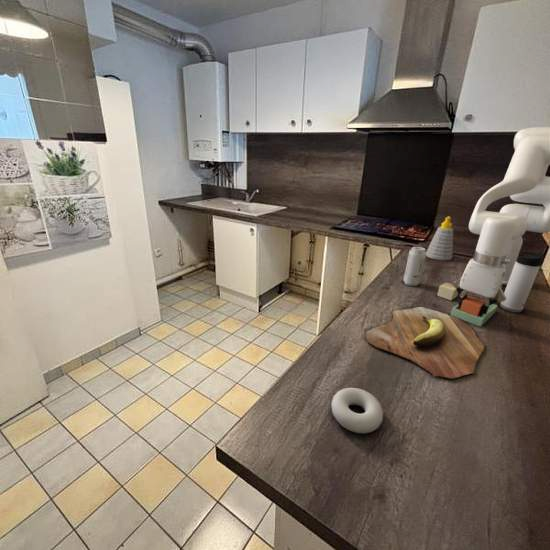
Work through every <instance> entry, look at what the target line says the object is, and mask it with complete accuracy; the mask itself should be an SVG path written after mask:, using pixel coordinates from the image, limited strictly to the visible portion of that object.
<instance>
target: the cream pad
mask: <svg viewBox="0 0 550 550" xmlns="http://www.w3.org/2000/svg"><path fill="white" fill-rule="evenodd" d="M458 295H459V293H458V292H457V290H456V288H455V287H454V286H453V285H452V283H450V282H444V283H442V284H440V285H439V287H438V291H437V294H436V296H437V297H440V298H443V299H447V300H449V301H452V300H454V299H455V298H457V297H458Z"/></svg>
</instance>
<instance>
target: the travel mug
mask: <svg viewBox="0 0 550 550" xmlns="http://www.w3.org/2000/svg"><path fill="white" fill-rule="evenodd" d="M545 257H546V256H545V254H543V253H536V252H519V254H518V257H517V260H516V262H515V265H514V267H513V270H512V273H511V276H510V278H509V281H508V284H507V285H506V287H505V290H504V291H503V293H504V294H505V296H506V298H507V299H506V300H505V301H502V302H499V306H500V308H501V309H503V310H505V311H508V312H511V313H522V311H523V310H524V307H525V305H526V302H527V300H528V297H529V295H530V293H531V290H532V287H533V285H534V284H535V283H534V282H535V280H536V278H537V275H538V273H539V270H540V267H541V265H542V262H543V260H544V258H545Z"/></svg>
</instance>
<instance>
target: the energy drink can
mask: <svg viewBox="0 0 550 550" xmlns="http://www.w3.org/2000/svg"><path fill="white" fill-rule="evenodd" d="M426 251H427V249H426V248H424V247H422V246H412V247H411V249H410V250H409V252H408V256H407V261H406V267H405V271H404V275H403V283H404V284H405V285H407V286H410V287H416V286H418V285H419V284H420V282H421V278H422V275H423V269H424V266H425V262H426V257H427V256H426Z"/></svg>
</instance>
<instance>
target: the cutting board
mask: <svg viewBox="0 0 550 550" xmlns="http://www.w3.org/2000/svg"><path fill="white" fill-rule="evenodd" d="M392 317H393V318H392V319H391V320H389V321H387V322H385V323H383V324H380V325H378V326H375V327H371V328H369V329H367V330H366V332H365V339H366V341H367V342H368V343H369V344H371V345H372V346H374V347H376V348H377V349H382V350H384V351H387V352H390V353H393V354H395V355H398V356H400V357H402V358H404V359H407V360H410V361H411V362H413V363H415V364H416V365H418V366H419V367H421V368H422V369H424V370H426V371H428V372H429V373H430V374H431V375H432V376H433V377H442V378H447V379H452V380H453V379H456V378H460V377H462V376H463V377H464V376H466V375H470V374H475V368H476V364H477V362H478V360H479V358H480V356H481V355H482V354H483V352H484V349H485V344H484V343H483V342H482V340H480V338H479V337H478V336H477V334H476V332H475V331H474V329H473V328H472V327H471V326H469V325H468V324H467V323H466V321H464V320H462V319H459V318H457V317H454V316H451V315H449V314H447V313H443V312H441V311H438V310H435V309H431V308H426V307H423V306H417V307H411V308H406V309H395V310H393V311H392Z"/></svg>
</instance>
